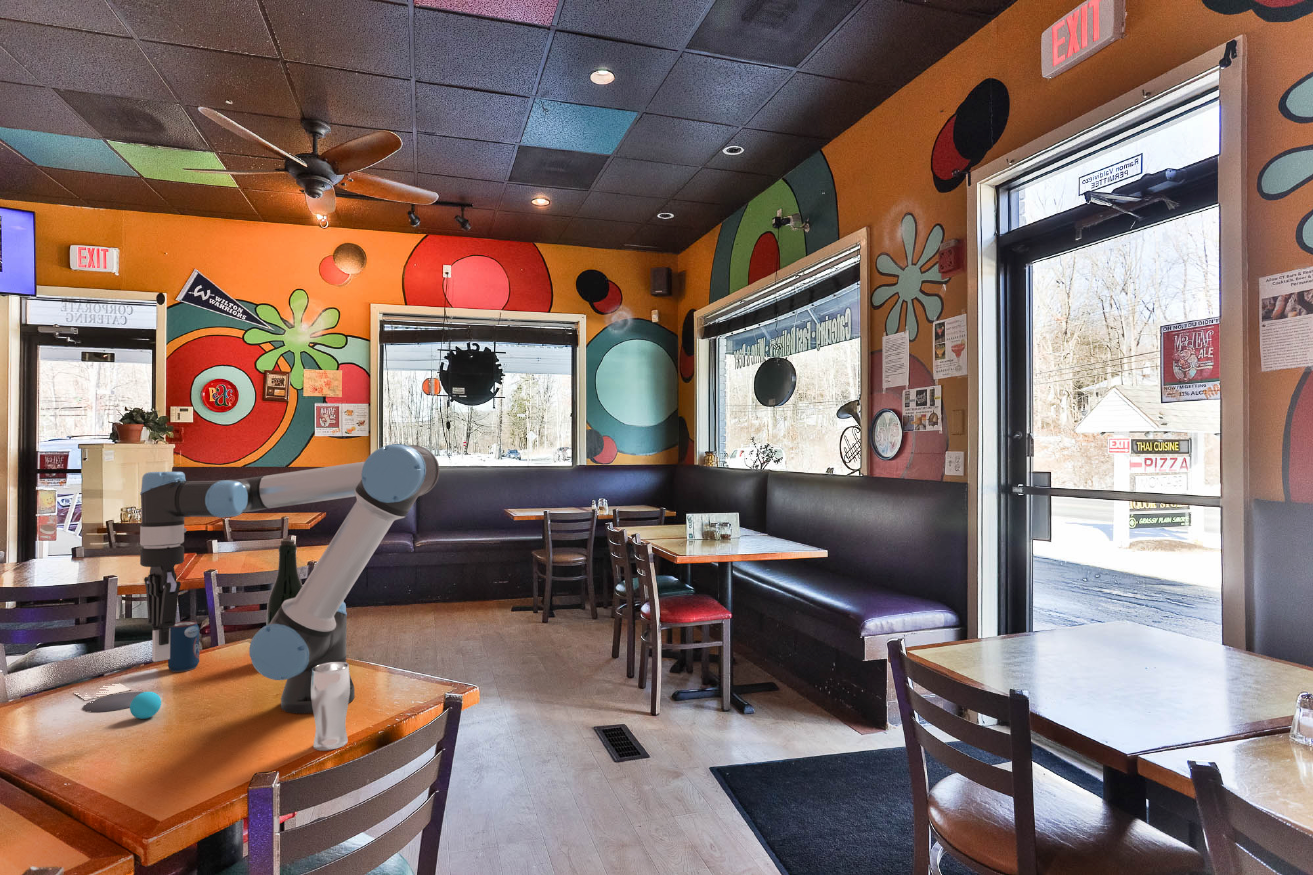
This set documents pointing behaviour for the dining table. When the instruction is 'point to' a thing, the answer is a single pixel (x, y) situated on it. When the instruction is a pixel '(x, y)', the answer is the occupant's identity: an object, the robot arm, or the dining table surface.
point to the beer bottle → (284, 579)
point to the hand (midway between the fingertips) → (161, 659)
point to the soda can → (184, 646)
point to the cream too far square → (110, 690)
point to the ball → (145, 705)
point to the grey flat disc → (111, 702)
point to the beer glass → (330, 704)
